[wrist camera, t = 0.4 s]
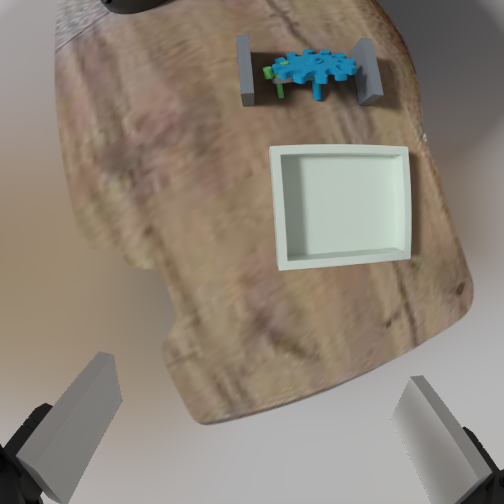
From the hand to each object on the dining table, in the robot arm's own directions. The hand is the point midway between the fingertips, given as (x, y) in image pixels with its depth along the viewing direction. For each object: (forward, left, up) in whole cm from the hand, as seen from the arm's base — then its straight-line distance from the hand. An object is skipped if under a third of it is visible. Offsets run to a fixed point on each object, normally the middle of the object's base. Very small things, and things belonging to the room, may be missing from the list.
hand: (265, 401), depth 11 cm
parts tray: (-6, +11, -26) cm, 29 cm away
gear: (-23, +8, -26) cm, 36 cm away
